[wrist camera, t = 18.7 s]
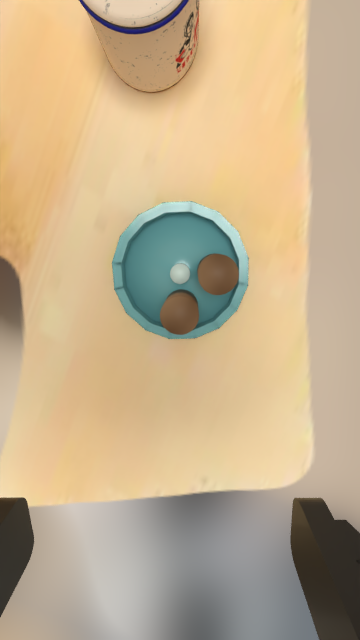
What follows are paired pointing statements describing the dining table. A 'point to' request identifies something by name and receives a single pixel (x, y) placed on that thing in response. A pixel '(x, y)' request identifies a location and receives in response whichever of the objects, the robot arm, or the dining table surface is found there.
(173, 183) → the dining table surface
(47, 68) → the dining table surface
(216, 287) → the walnut bead
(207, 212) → the groove tray
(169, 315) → the walnut bead
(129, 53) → the teacup with lid
